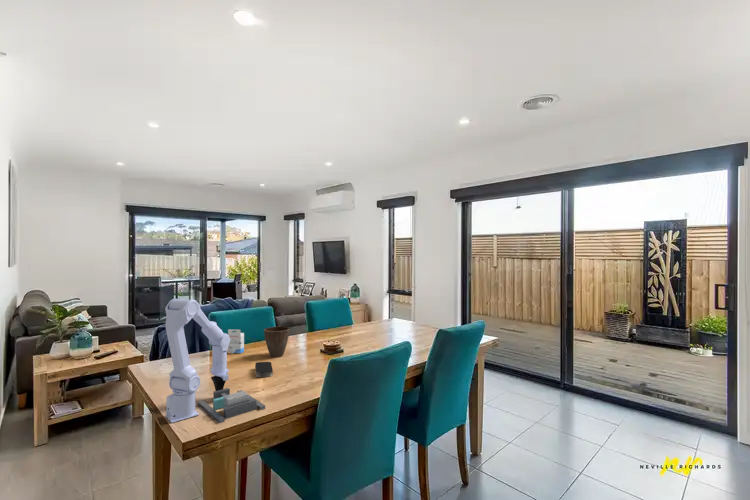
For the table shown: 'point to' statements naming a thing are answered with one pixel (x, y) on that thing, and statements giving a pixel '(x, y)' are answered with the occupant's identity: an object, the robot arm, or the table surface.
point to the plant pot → (276, 340)
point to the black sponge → (263, 369)
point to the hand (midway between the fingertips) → (219, 393)
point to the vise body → (232, 409)
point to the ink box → (236, 341)
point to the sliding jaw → (219, 398)
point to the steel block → (235, 399)
